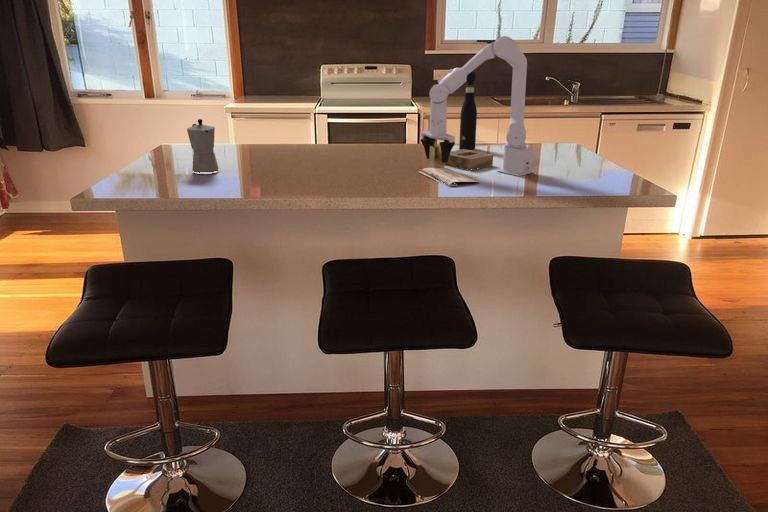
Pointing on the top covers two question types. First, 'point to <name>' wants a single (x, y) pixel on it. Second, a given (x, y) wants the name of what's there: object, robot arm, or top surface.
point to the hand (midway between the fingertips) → (437, 160)
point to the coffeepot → (203, 147)
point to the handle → (429, 124)
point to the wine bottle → (468, 116)
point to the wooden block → (435, 157)
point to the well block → (469, 159)
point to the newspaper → (446, 176)
